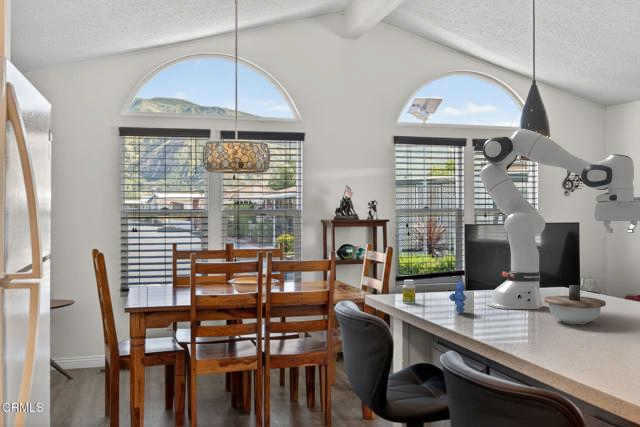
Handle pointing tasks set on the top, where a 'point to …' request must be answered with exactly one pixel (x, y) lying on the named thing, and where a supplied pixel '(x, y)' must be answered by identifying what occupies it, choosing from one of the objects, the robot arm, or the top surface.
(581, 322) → the cereal bowl
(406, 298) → the supplement bottle
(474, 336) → the top surface
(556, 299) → the lid
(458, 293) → the grapes
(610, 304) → the top surface
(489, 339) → the top surface
